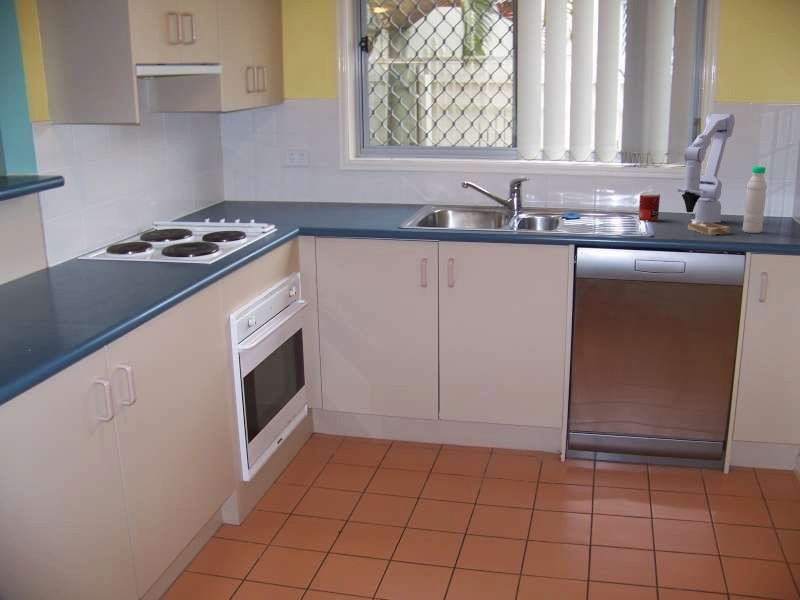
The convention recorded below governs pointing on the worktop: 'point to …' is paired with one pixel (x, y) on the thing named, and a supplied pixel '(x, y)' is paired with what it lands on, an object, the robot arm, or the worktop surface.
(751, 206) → the water bottle
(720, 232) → the cradle
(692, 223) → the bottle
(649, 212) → the canned food
